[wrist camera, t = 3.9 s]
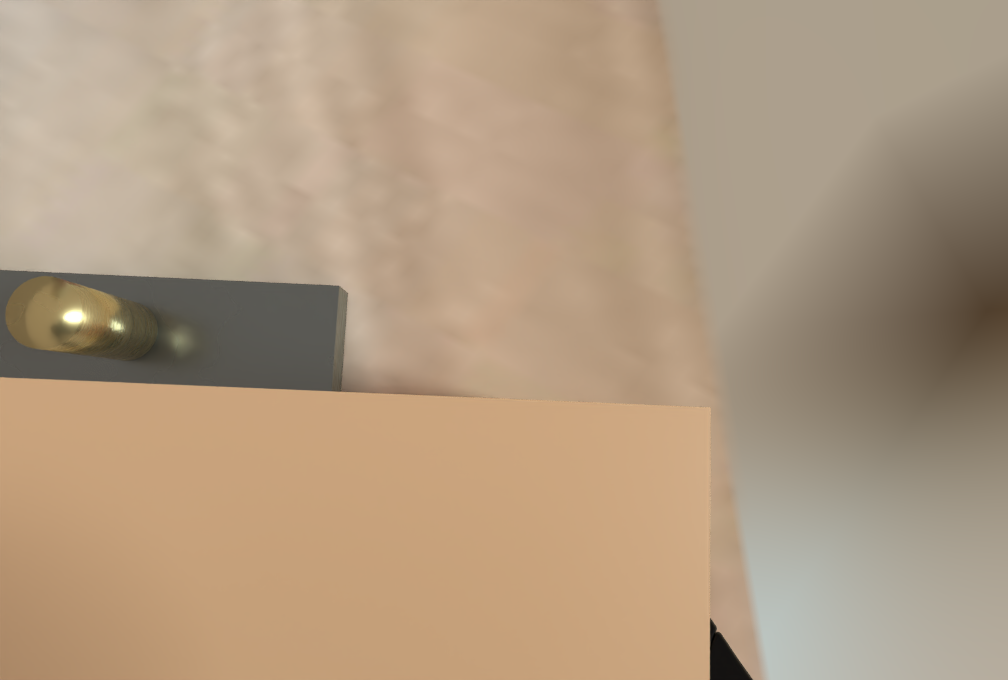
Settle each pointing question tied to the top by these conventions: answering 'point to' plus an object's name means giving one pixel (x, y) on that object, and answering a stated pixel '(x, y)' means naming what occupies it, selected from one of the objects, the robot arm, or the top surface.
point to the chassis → (171, 331)
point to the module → (348, 536)
